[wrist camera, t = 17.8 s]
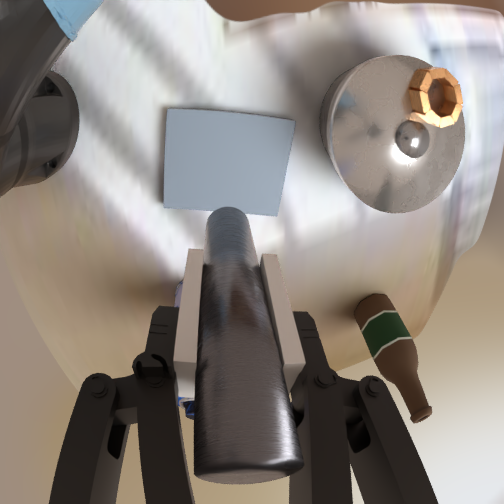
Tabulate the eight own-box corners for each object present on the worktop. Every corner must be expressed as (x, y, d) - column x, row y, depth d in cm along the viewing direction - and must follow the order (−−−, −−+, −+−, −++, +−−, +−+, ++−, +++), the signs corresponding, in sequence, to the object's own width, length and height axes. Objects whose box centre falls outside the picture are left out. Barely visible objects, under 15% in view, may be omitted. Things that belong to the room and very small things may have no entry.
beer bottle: (392, 287, 46) (453, 397, 27) (386, 315, 51) (435, 417, 31) (354, 298, 47) (407, 420, 27) (351, 325, 51) (393, 436, 31)
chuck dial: (412, 225, 33) (428, 241, 29) (297, 168, 27) (307, 182, 24) (471, 114, 24) (492, 122, 21) (368, 24, 19) (388, 19, 15)
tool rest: (165, 203, 34) (163, 207, 33) (169, 107, 27) (167, 108, 26) (275, 212, 36) (277, 216, 35) (293, 120, 29) (295, 121, 28)
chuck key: (237, 251, 21) (268, 484, 7) (199, 236, 20) (180, 479, 6) (256, 217, 20) (326, 456, 6) (217, 199, 19) (219, 453, 5)
